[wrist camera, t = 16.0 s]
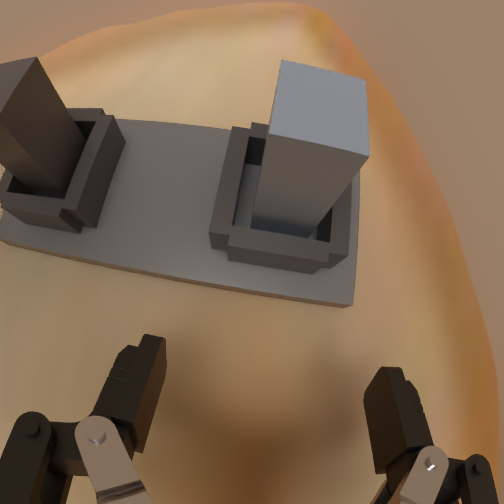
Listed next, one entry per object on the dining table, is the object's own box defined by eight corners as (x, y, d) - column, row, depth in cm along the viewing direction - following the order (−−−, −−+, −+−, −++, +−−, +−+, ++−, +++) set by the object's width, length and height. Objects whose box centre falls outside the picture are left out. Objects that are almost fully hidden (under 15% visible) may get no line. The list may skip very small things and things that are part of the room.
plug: (248, 232, 18) (268, 133, 9) (258, 177, 19) (281, 59, 10) (304, 242, 18) (369, 156, 9) (309, 186, 19) (365, 80, 10)
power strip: (6, 243, 18) (-96, 183, 8) (51, 128, 21) (-9, 36, 10) (343, 307, 19) (457, 271, 9) (352, 166, 22) (424, 58, 11)
